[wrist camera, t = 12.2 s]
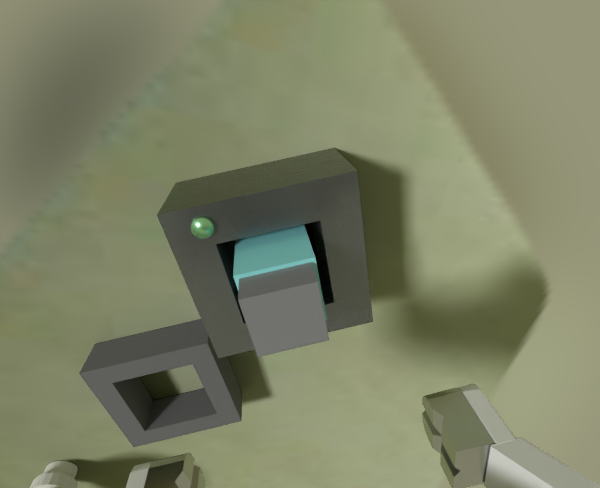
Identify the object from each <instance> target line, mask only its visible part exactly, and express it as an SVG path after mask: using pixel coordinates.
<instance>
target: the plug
mask: <svg viewBox="0 0 600 488" xmlns="http://www.w3.org/2000/svg"><path fill="white" fill-rule="evenodd" d="M233 277H234V280H235V283H236V286H237V289H238V301H239V304H240V307H241V310H242V313H243V316H244V319H245V322H246V324H247V327H248V330H249V333H250V336H251V339H252V342H253V345H254V348H255V350H256V353H257V356H258V357H260V356H265V355H269V354H273V353H277V352H281V351H285V350H290V349H294V348H298V347H302V346H306V345H311V344H315V343H319V342H323V341H327V340H329V337H328V332H327V326H326V321H325V320H327V316H326V311H325V306H324V300H323V295H322V290H321V284H320V279H319V274H318V268H317V263H316V258H315V255H314V252H313V249H312V246H311V243H310V240H309V237H308V235H307V232H306V229H305V226H304V224H303V225H298V226H294V227H290V228H285V229H281V230H276V231H272V232H268V233H263V234H259V235H254V236H250V237H246V238H241V239H237V240H235V254H234V269H233Z"/></svg>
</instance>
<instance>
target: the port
mask: <svg viewBox="0 0 600 488" xmlns="http://www.w3.org/2000/svg"><path fill="white" fill-rule="evenodd" d="M157 216H158V219H159V221H160V223H161V226H162V228H163V230H164V233H165V235H166V237H167V240H168V242H169V244H170V247H171V249H172V251H173V254H174V256H175V258H176V261H177V263H178V265H179V268H180V270H181V272H182V275H183V277H184V279H185V282H186V284H187V286H188V289H189V291H190V293H191V296H192V298H193V300H194V303H195V305H196V307H197V310H198V312H199V314H200V317H201V319H202V321H203V324H204V326H205V328H206V331H207V333H208V335H209V338H210V340H211V342H212V345H213V347H214V349H215V352H216V354H217V356H218V358H222V357H226V356H231V355H235V354H239V353H243V352H247V351H252V350H255V348H254V345H253V342H252V339H251V336H250V333H249V330H248V327H247V324H246V322H245V319H244V316H243V313H242V310H241V307H240V304H239V301H238V289H237V286H236V283H235V280H234V277H233V269H234V254H235V246H234V243H233V240H237V239H241V238H246V237H250V236H254V235H259V234H263V233H268V232H272V231H276V230H281V229H285V228H290V227H294V226H298V225H303V224H307V223H312V225H313V230H314V235H315V241H316V246H317V252H318V257H319V260H318V261H316V263H317V268H318V274H319V279H320V284H321V290H322V295H323V300H324V306H325V311H326V316H327V320H325V321H326V326H327V332H331V331H335V330H340V329H344V328H348V327H352V326H356V325H361V324H365V323H369V322H373V317H372V307H371V298H370V288H369V278H368V268H367V259H366V249H365V239H364V229H363V220H362V210H361V200H360V190H359V181H358V171H357V169H356V168H354V167H353V166H352V165H351V164H350V163H349V162H348V161H347V160H346V159H345V158H344V157H343V156H342V155H341V154H340V153H339V152H338V151H337V150H336V149H335V148H332V149H328V150H323V151H319V152H314V153H310V154H305V155H301V156H296V157H291V158H287V159H282V160H278V161H273V162H269V163H264V164H260V165H255V166H251V167H246V168H242V169H237V170H233V171H228V172H224V173H219V174H215V175H210V176H205V177H201V178H196V179H192V180H187V181H183V182H178V183H176V184H175V185H174V187H173V189H172V191H171V192H170V194H169V196H168V197H167V199H166V201H165V202H164V204H163V206H162V208H161V209H160V211H159V213H158V214H157Z"/></svg>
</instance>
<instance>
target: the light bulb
mask: <svg viewBox="0 0 600 488" xmlns="http://www.w3.org/2000/svg"><path fill="white" fill-rule="evenodd" d="M77 471H78V468H77V466H76V465H75V464H73V463H71V462H68V461H55V462H52V463H50V464H49V465H48V466H47V467H46V469H45V471H44V473H43V474H42V475H39V476H38V477H36V478H35V479H34V481H33V482H32V484H31V486H30V488H77V484H78V483H77V481H76V480H75V479H74V478H75V476H76V474H77Z"/></svg>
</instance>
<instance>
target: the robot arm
mask: <svg viewBox="0 0 600 488" xmlns="http://www.w3.org/2000/svg"><path fill="white" fill-rule="evenodd" d="M422 404H423V406H424V408H425V411H424V412H423V413H422V415H423V424H424V428H425V431H426V434H427V436H428V439H429V441H430V443H431V445H432V448H433V449H435V450H436V451H438V452H439V453H440V454H441V463H440V464H441V466H442V469H443V471H444V473H445V475H446V477H447V479H448V481H449V483H450V485H451V487H452V488H466V487H470V486H474V485H479V484H484V486H485V487H486V488H600V486H599V485H598V484H596V483H594V482H593V481H591V480H589V479H588V478H586V477H585V476H583V475H581V474H579V473H578V472H576V471H575V470H573V469H572V468H570V467H568V466H567V465H565V464H564V463H562V462H560V461H559V460H557V459H555V458H554V457H552V456H551V455H549V454H547V453H545V452H544V451H542V450H540V449H539V448H537V447H536V446H534V445H533V444H531V443H529V442H528V441H526V440H524V439H523V438H515V437H514V435H513V434H512V432H511V431H510V430H509V428H508V427H507V426H506V424H505V423H504V421H503V420H502V418H501V417H500V416H499V414H498V413H497V412H496V410H495V409H494V407H493V406H492V405H491V403H490V402H489V400H488V399H487V397H486V396H485V395H484V393H483V392H482V391H481V389H480V388H479V387H478V386H477V385H476V384H470V385H466V386H462V387H458V388H452V389H448V390H444V391H441V392H437V393H433V394H429V395H425V396H424V397H423V398H422ZM126 488H205V480H204V476H203V472H202V471H201V469H200V467H197V466H195V465H194V457H193V456H192V454H191V453H186V454H182V455H178V456H173V457H169V458H165V459H161V460H157V461H151V462H147V463H143V464H139V465H135V466H134V468H133V469H132V471H131V473H130V475H129V478H128V482H127V485H126Z"/></svg>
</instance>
